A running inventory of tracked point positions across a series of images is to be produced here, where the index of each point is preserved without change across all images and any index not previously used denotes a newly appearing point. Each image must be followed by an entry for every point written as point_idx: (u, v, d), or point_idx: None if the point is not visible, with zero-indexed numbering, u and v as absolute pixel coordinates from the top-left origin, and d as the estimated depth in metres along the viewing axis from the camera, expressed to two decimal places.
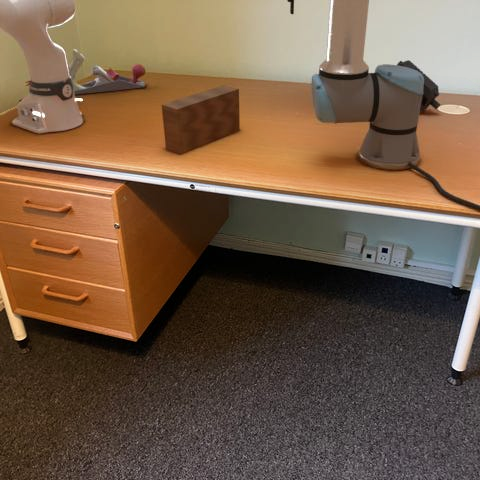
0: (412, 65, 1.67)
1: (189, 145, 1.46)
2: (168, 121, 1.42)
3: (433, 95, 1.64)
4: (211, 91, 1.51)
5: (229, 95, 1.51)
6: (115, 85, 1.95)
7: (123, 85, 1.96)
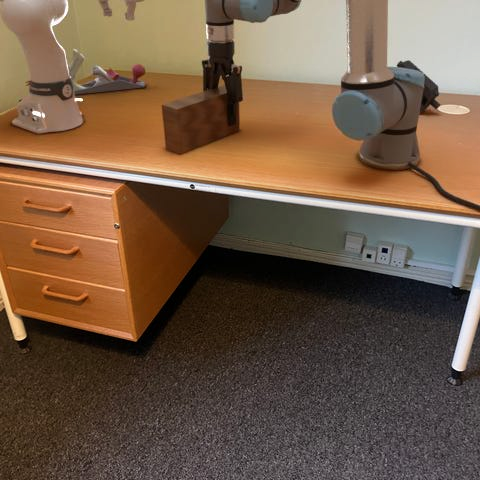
0: (412, 65, 1.67)
1: (189, 145, 1.46)
2: (168, 121, 1.42)
3: (433, 95, 1.64)
4: (211, 91, 1.51)
5: None
6: (115, 85, 1.95)
7: (123, 85, 1.96)
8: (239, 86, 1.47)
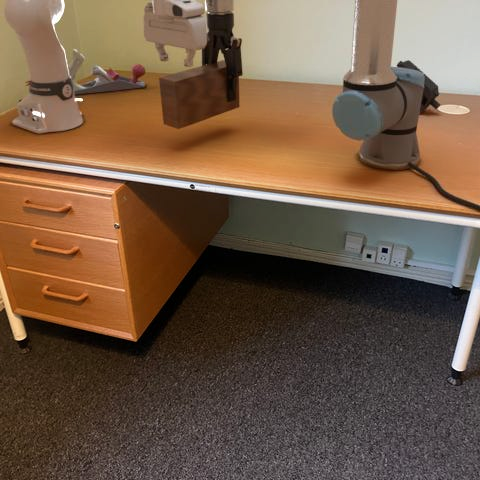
0: (412, 65, 1.67)
1: (187, 120, 1.42)
2: (166, 95, 1.38)
3: (433, 95, 1.64)
4: (210, 65, 1.47)
5: None
6: (115, 85, 1.95)
7: (123, 85, 1.96)
8: (238, 60, 1.43)
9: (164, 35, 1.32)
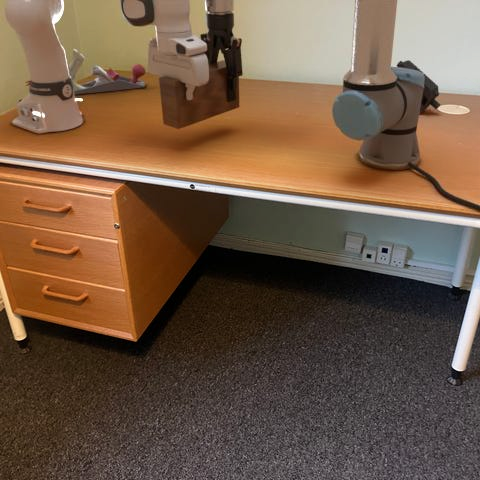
0: (412, 65, 1.67)
1: (187, 120, 1.42)
2: (166, 95, 1.38)
3: (433, 95, 1.64)
4: (210, 65, 1.47)
5: None
6: (115, 85, 1.95)
7: (123, 85, 1.96)
8: (238, 60, 1.43)
9: (168, 70, 1.37)
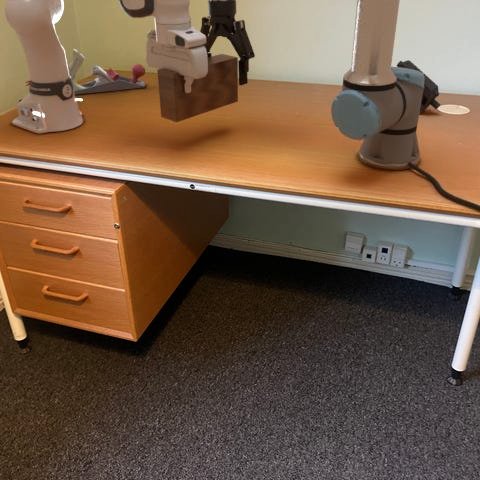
0: (412, 65, 1.67)
1: (185, 113, 1.41)
2: (164, 87, 1.37)
3: (433, 95, 1.64)
4: (209, 59, 1.46)
5: (228, 63, 1.46)
6: (115, 85, 1.95)
7: (123, 85, 1.96)
8: (246, 41, 1.40)
9: (166, 62, 1.36)
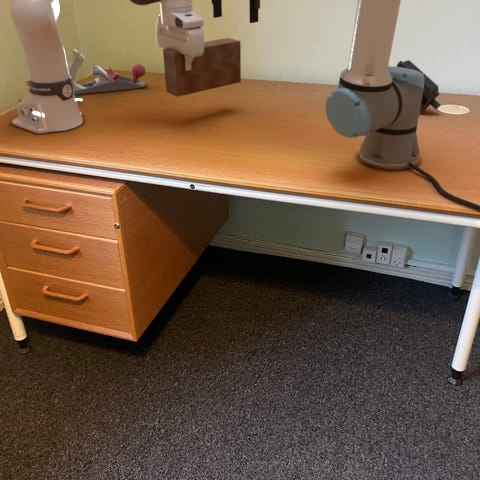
0: (412, 65, 1.67)
1: (186, 89, 1.57)
2: (168, 65, 1.54)
3: (433, 95, 1.64)
4: (214, 41, 1.61)
5: (230, 46, 1.60)
6: (115, 85, 1.95)
7: (123, 85, 1.96)
8: None
9: (170, 42, 1.52)
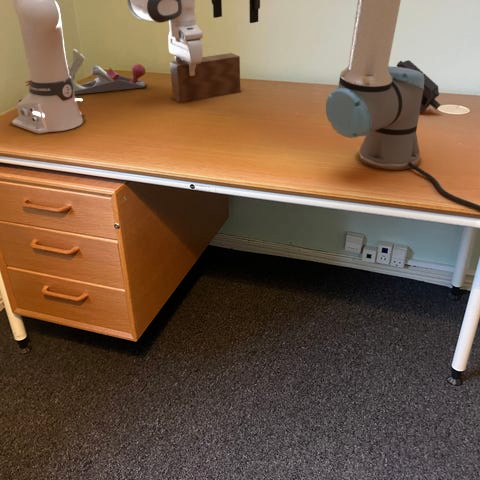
0: (412, 65, 1.67)
1: (188, 96, 1.83)
2: (173, 75, 1.81)
3: (433, 95, 1.64)
4: (216, 56, 1.86)
5: (230, 61, 1.85)
6: (115, 85, 1.95)
7: (123, 85, 1.96)
8: None
9: (177, 50, 1.79)
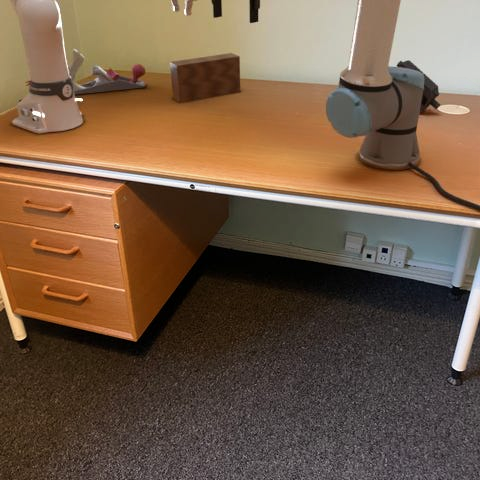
0: (412, 65, 1.67)
1: (188, 96, 1.83)
2: (173, 75, 1.81)
3: (433, 95, 1.64)
4: (216, 56, 1.86)
5: (230, 61, 1.85)
6: (115, 85, 1.95)
7: (123, 85, 1.96)
8: None
9: None
